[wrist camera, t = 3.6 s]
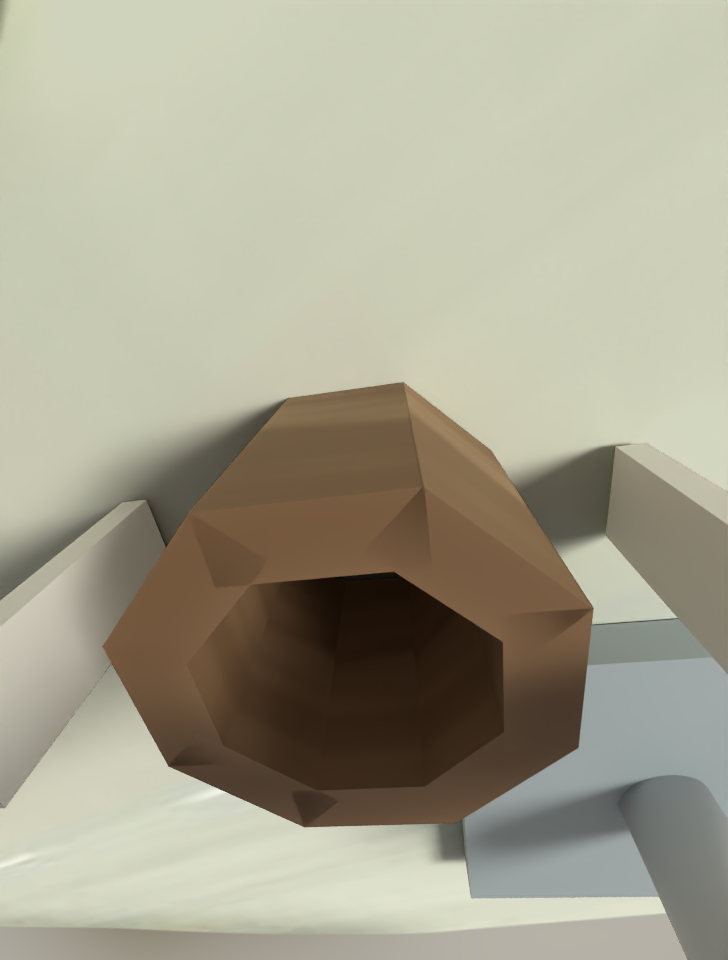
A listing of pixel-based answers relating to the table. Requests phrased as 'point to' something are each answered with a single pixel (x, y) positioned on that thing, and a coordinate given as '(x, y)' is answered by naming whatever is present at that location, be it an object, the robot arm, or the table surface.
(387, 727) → the collar
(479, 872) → the post block
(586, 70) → the table surface
